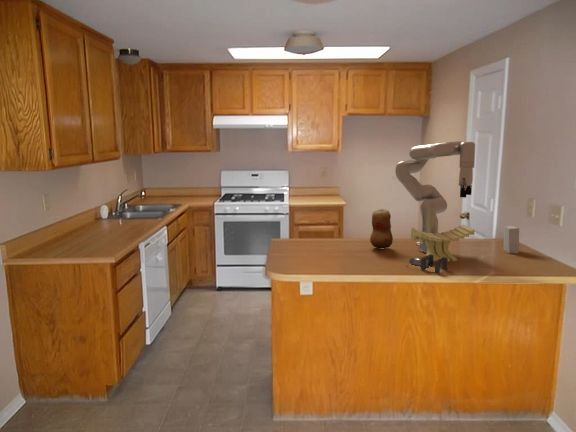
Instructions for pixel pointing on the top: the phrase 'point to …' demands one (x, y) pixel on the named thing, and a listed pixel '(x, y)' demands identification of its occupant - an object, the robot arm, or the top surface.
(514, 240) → the skincare box
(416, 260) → the tube
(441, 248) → the slatted curved stool
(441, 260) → the dark angular blocks
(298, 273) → the top surface
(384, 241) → the butternut squash
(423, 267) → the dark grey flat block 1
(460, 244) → the top surface
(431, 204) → the robot arm
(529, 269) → the top surface
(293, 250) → the top surface
